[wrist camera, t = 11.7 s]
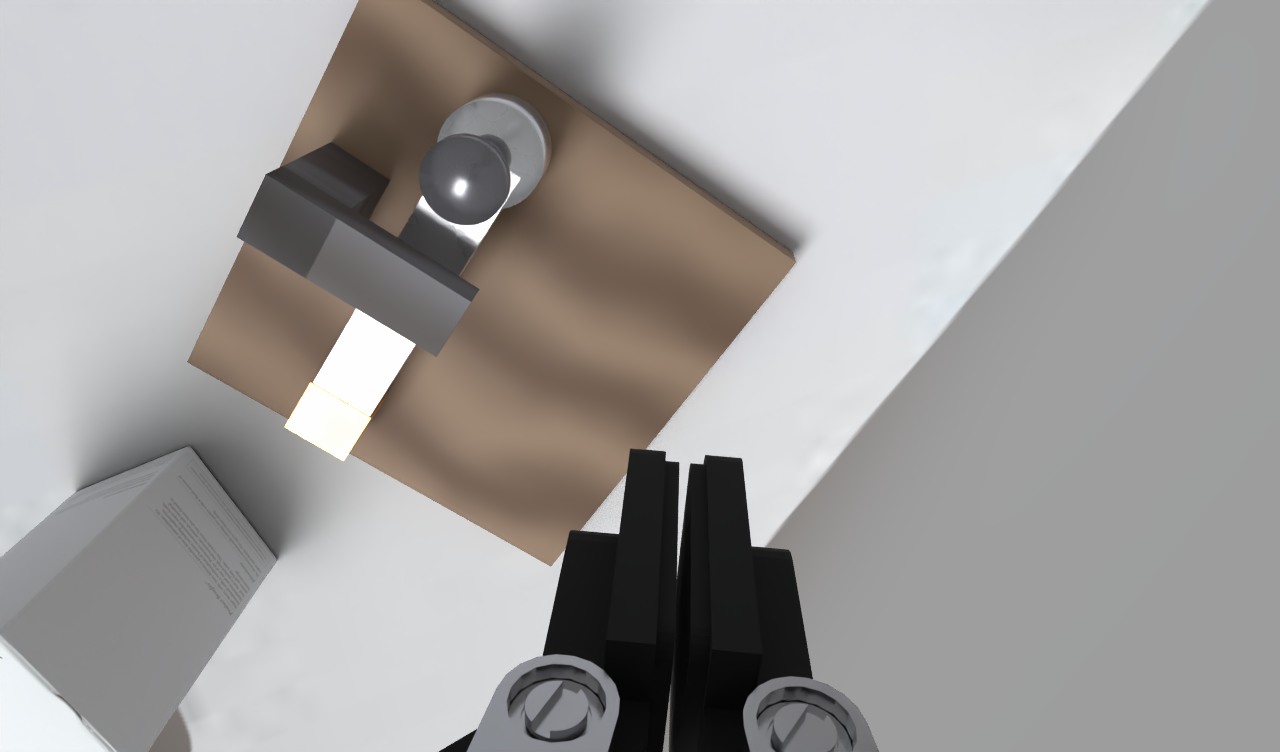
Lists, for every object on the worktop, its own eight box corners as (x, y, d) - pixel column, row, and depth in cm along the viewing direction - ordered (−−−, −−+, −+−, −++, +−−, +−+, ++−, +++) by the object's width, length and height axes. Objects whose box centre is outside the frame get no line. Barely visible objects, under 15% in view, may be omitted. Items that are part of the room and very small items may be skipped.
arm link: (486, 69, 36) (438, 93, 29) (572, 130, 37) (545, 168, 30) (300, 391, 43) (227, 471, 37) (375, 435, 44) (318, 521, 38)
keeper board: (386, -33, 36) (310, -32, 29) (792, 252, 41) (814, 314, 33) (202, 350, 45) (108, 424, 37) (554, 550, 49) (531, 650, 42)
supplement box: (69, 490, 49) (-164, 687, 36) (192, 441, 47) (-6, 630, 34) (164, 604, 53) (-15, 822, 39) (282, 562, 51) (136, 778, 37)
